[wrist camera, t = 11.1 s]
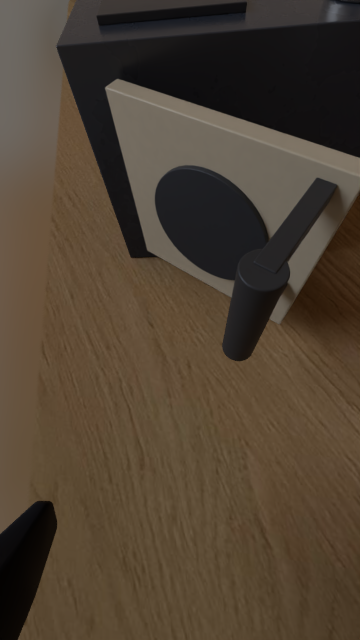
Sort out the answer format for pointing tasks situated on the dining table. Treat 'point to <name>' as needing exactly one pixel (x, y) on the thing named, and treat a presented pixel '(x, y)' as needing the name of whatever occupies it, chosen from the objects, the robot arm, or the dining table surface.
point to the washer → (216, 71)
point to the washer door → (231, 202)
